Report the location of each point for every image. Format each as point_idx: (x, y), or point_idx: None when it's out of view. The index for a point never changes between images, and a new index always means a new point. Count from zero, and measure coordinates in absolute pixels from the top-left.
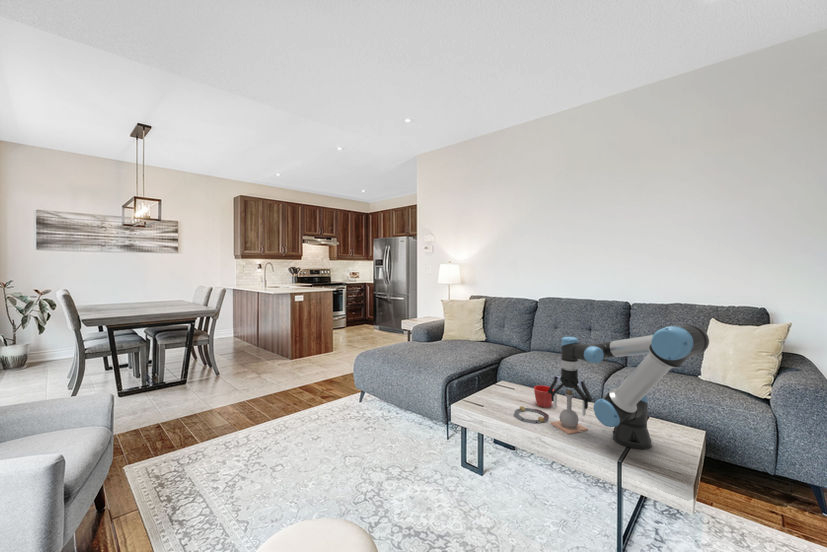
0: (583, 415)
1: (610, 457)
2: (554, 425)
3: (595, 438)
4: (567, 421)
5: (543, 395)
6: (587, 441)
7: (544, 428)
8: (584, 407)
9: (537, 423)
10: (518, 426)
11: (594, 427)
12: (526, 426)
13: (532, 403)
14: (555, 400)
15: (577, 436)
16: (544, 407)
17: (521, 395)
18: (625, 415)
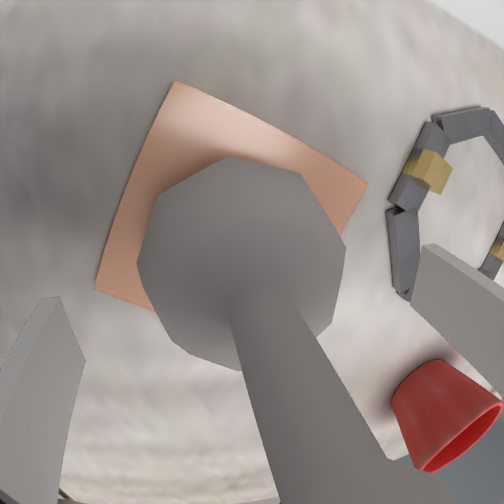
0: (46, 300)
1: None
2: (329, 159)
3: (6, 190)
4: (223, 163)
5: (462, 404)
6: (24, 90)
7: (369, 71)
8: (2, 396)
9: (426, 123)
10: (470, 29)
11: (98, 354)
12: (450, 46)
13: (458, 358)
14: (489, 317)
15: (104, 106)
16: (417, 368)
17: (481, 377)
18: None
